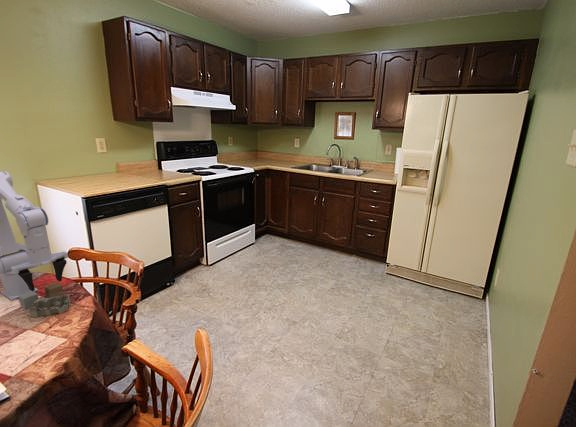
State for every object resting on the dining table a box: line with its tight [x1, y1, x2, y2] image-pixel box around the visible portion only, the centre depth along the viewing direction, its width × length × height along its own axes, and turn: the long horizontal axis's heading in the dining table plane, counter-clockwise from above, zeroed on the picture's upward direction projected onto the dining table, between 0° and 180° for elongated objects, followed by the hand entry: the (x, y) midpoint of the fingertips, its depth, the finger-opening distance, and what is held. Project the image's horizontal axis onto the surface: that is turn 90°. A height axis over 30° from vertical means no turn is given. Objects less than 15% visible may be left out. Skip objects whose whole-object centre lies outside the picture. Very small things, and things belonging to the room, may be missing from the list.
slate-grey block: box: [18, 291, 40, 310], centre depth 106 cm, size 4×4×4 cm
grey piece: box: [27, 293, 71, 319], centre depth 103 cm, size 11×8×4 cm
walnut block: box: [43, 281, 65, 298], centre depth 112 cm, size 4×4×4 cm
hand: (46, 284), depth 101 cm, fingers open, 7 cm apart
